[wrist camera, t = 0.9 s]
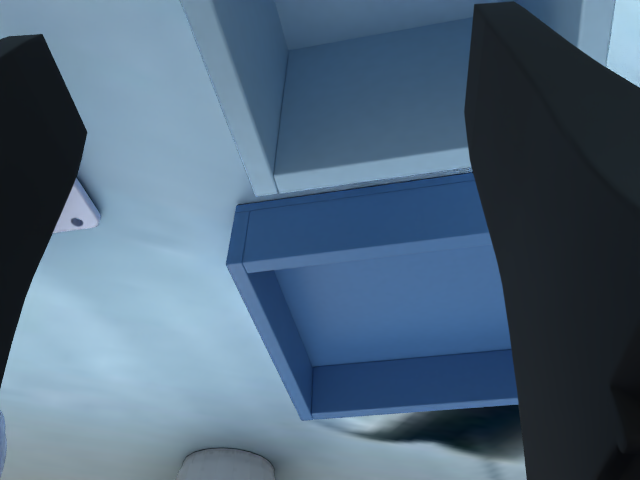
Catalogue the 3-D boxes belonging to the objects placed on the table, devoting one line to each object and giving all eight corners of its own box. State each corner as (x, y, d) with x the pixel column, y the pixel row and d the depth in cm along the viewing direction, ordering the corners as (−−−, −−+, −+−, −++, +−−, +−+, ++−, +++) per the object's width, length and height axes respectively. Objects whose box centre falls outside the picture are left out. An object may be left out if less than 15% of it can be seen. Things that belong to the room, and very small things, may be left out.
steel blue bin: (304, 366, 36) (301, 421, 34) (236, 204, 27) (225, 264, 24) (565, 342, 34) (582, 400, 31) (592, 155, 24) (619, 216, 22)
